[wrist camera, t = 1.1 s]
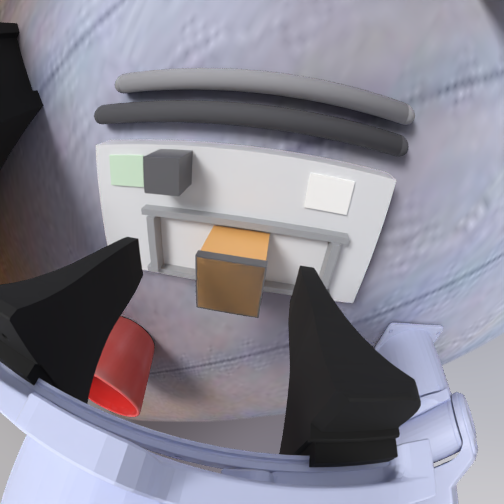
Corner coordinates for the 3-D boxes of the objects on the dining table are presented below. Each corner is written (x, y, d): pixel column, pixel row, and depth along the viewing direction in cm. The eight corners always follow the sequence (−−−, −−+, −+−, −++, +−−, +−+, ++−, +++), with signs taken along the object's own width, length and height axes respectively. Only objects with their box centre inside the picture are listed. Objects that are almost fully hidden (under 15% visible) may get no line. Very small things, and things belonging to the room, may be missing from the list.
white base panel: (349, 288, 24) (357, 324, 20) (120, 251, 25) (97, 279, 21) (387, 172, 18) (410, 192, 14) (109, 139, 19) (75, 152, 15)
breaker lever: (263, 279, 21) (258, 317, 18) (211, 271, 21) (196, 307, 18) (271, 232, 19) (267, 266, 15) (212, 223, 19) (195, 255, 16)
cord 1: (407, 126, 16) (416, 129, 14) (121, 93, 17) (110, 94, 15) (410, 106, 15) (420, 107, 13) (122, 74, 16) (111, 74, 14)
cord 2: (400, 156, 17) (409, 161, 15) (101, 123, 18) (90, 126, 17) (405, 136, 16) (414, 139, 15) (102, 105, 17) (90, 107, 16)
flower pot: (96, 339, 34) (68, 389, 26) (94, 291, 28) (51, 349, 20) (159, 369, 35) (138, 425, 27) (171, 329, 30) (141, 399, 21)
